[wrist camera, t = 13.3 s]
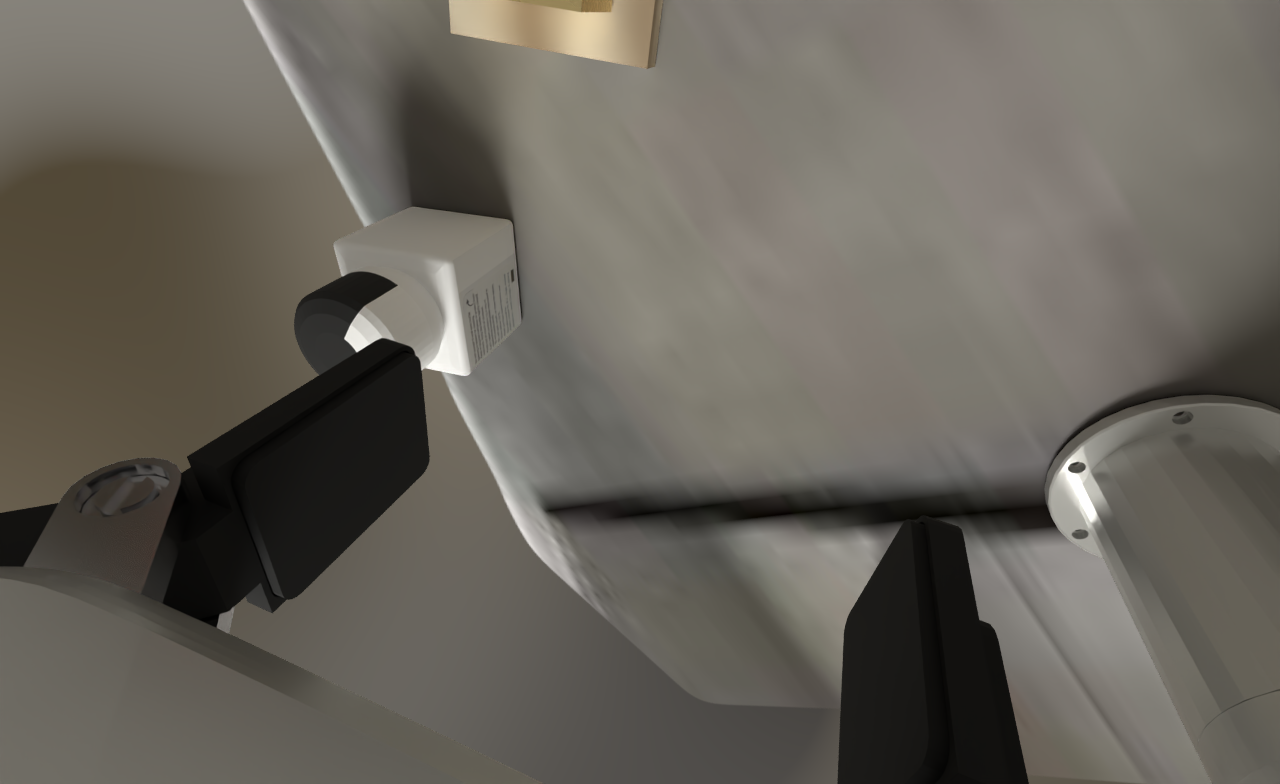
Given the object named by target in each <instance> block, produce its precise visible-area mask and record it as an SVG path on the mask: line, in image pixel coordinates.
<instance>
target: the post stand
mask: <svg viewBox="0 0 1280 784" xmlns="http://www.w3.org/2000/svg"><path fill="white" fill-rule="evenodd" d="M662 5H663V0H612V11H611V12H577V11H571V10H565V9H559V8H553V7H547V6H541V5H535V4H529V3H523V2H517V1H511V0H449V10H450V27H451V33H452V34H458V35H464V36H469V37H475V38H480V39H486V40H491V41H497V42H502V43H508V44H513V45H519V46H524V47H530V48H536V49H541V50H547V51H552V52H558V53H563V54H569V55H574V56H580V57H585V58H591V59H596V60H602V61H608V62H613V63H619V64H624V65H630V66H635V67H641V68H646V69H648V68H651V67H655V62H656V53H657V45H658V37H659V29H660V21H661V13H662Z"/></svg>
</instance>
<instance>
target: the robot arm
mask: <svg viewBox="0 0 1280 784" xmlns="http://www.w3.org/2000/svg"><path fill="white" fill-rule="evenodd" d="M429 457H430V456H429V446H428V436H427V424H426V414H425V403H424V392H423V382H422V371H421V362H420V359H419V358H418V357H417V356H416V355H415V351H414V350H413V348H412V347H410V346H408V345H405V344H402V343H399V342H396V341H393V340H390V339H387V338H381V339H378V340H376V341H374V342H373V343H371V344H370V345H368V346H366V347H365V348H363V349H361V350H360V351H358V352H357V353H355V354H353V355H352V356H350V357H348V358H347V359H345V360H343V361H342V362H340V363H339V364H337V365H335V366H334V367H332V368H330V369H329V370H327V371H326V372H324V373H322V374H321V375H319V376H317V377H316V378H314V379H313V380H311V381H309V382H308V383H306V384H304V385H303V386H301V387H300V388H298V389H296V390H295V391H293V392H291V393H290V394H289V395H287V396H285V397H283V398H282V399H280V400H278V401H277V402H275V403H274V404H272V405H270V406H269V407H267V408H265V409H264V410H262V411H261V412H259V413H257V414H256V415H254V416H252V417H251V418H249V419H248V420H246V421H244V422H243V423H241V424H239V425H238V426H236V427H234V428H233V429H231V430H230V431H228V432H226V433H225V434H223V435H221V436H220V437H218V438H217V439H215V440H213V441H212V442H210V443H208V444H207V445H205V446H204V447H202V448H200V449H199V450H197V451H195V452H194V453H192V454H191V455H189V456H187V458H188V460H189V463H190V465H191V468H189V469H187V470H186V471H184V472H183V473H181V472H180V470H179V468H178V467H177V465H175V464H173V463H172V462H170V461H168V460H164V459H158V458H136V459H131V460H126V461H120V462H116V463H114V464H111V465H108V466H105V467H102V468H100V469H98V470H96V471H94V472H92V473H90V474H88V475H86V476H84V477H83V478H81V479H80V480H79V481H77V482H76V483H75V484H73V485H72V486H71V487H70V488H69V489H68V491H67V492H66V493H65V494H64V495H63V497H62V498H61V500H60V502H59V503H57V504H50V505H45V506H39V507H33V508H27V509H22V510H16V511H10V512H4V513H0V784H543V783H541V782H539V781H537V780H535V779H533V778H531V777H529V776H527V775H525V774H523V773H520V772H518V771H516V770H514V769H512V768H510V767H508V766H506V765H504V764H502V763H500V762H498V761H495V760H493V759H491V758H489V757H487V756H485V755H483V754H481V753H479V752H477V751H474V750H473V749H470V748H468V747H466V746H464V745H462V744H460V743H458V742H456V741H454V740H452V739H450V738H448V737H446V736H443V735H441V734H439V733H437V732H435V731H433V730H431V729H429V728H427V727H425V726H423V725H420V724H418V723H416V722H414V721H412V720H410V719H408V718H406V717H404V716H401V715H399V714H397V713H395V712H393V711H391V710H389V709H387V708H385V707H382V706H380V705H378V704H376V703H374V702H372V701H370V700H368V699H366V698H364V697H362V696H359V695H357V694H355V693H353V692H351V691H349V690H347V689H345V688H343V687H341V686H339V685H336V684H334V683H332V682H330V681H328V680H326V679H324V678H322V677H320V676H317V675H315V674H313V673H311V672H309V671H307V670H304V669H303V668H301V667H298V666H296V665H294V664H292V663H290V662H288V661H286V660H284V659H281V658H279V657H277V656H275V655H273V654H270V653H269V652H266V651H264V650H262V649H260V648H258V647H256V646H254V645H252V644H250V643H247V642H245V641H243V640H241V639H239V638H237V637H235V636H233V635H230V634H229V631H230V626H231V621H232V616H233V612H234V607H235V605H236V604H237V603H239V602H240V601H241V600H242V599H243V598H244V597H245V596H246V599H247V601H248V602H249V603H252V604H253V605H256V606H258V607H260V608H262V609H265V610H266V611H269V612H271V613H273V612H274V611H275V610H276V609H277V608H278V607H279V606H280V605H281V604H282V603H284V602H285V601H286V600H287V599H288V600H289V599H293V598H295V597H297V596H298V595H299V594H301V593H302V592H303V591H304V590H305V589H306V588H307V587H308V586H309V585H310V584H311V583H312V582H313V581H314V580H315V579H316V578H317V577H318V576H319V575H320V574H321V573H322V572H323V571H324V570H325V569H326V568H327V567H329V565H331V563H333V562H334V561H335V560H336V559H337V558H338V557H339V556H340V555H341V554H342V553H343V552H344V551H345V550H346V549H347V548H348V547H349V546H350V545H351V544H352V543H353V542H354V541H355V540H356V539H357V538H358V537H359V536H360V535H361V534H362V533H363V532H364V531H365V530H366V529H367V528H368V527H369V526H370V525H371V524H372V523H374V522H375V520H377V519H378V517H380V516H381V515H382V514H383V513H384V512H385V511H386V510H387V509H388V508H389V507H390V506H391V505H392V504H393V503H394V502H395V501H396V500H397V499H398V498H399V497H400V496H401V495H402V494H403V493H404V492H405V491H406V490H407V489H408V488H409V487H410V486H411V485H412V484H413V483H414V482H415V481H416V480H417V479H418V478H419V477H421V476H422V474H423V473H424V472H425V470H426V469H427V466H428V464H429ZM1044 488H1045V499H1046V504H1047V506H1048V509H1049V512H1050V514H1051V517H1052V519H1053V520H1054V522H1055V524H1056V526H1057V527H1058V529H1059V530H1060V532H1061V533H1062V534H1063V535H1064V536H1065V537H1066V538H1067V539H1068V540H1069V541H1071V542H1072V543H1074V544H1075V545H1077V546H1078V547H1080V548H1081V549H1083V550H1084V551H1086V552H1088V553H1090V554H1093V555H1095V556H1097V557H1099V558H1102V559H1104V561H1105V563H1106V565H1107V567H1108V569H1109V571H1110V573H1111V575H1112V577H1113V579H1114V582H1115V584H1116V586H1117V588H1118V590H1119V592H1120V594H1121V596H1122V598H1123V600H1124V602H1125V604H1126V606H1127V609H1128V611H1129V613H1130V615H1131V617H1132V619H1133V621H1134V623H1135V625H1136V627H1137V629H1138V631H1139V633H1140V635H1141V638H1142V640H1143V642H1144V644H1145V646H1146V648H1147V650H1148V652H1149V654H1150V656H1151V658H1152V660H1153V662H1154V665H1155V667H1156V669H1157V671H1158V673H1159V675H1160V677H1161V679H1162V681H1163V683H1164V685H1165V687H1166V689H1167V692H1168V694H1169V696H1170V698H1171V700H1172V702H1173V704H1174V706H1175V708H1176V710H1177V712H1178V714H1179V716H1180V719H1181V721H1182V723H1183V725H1184V727H1185V729H1186V731H1187V733H1188V735H1189V737H1190V739H1191V741H1192V743H1193V746H1194V748H1195V750H1196V752H1197V754H1198V756H1199V758H1200V760H1201V762H1202V765H1203V767H1204V769H1205V771H1206V773H1207V775H1208V777H1209V779H1210V781H1211V783H1212V784H1280V410H1279V409H1277V408H1275V407H1272V406H1270V405H1268V404H1265V403H1262V402H1257V401H1253V400H1249V399H1245V398H1240V397H1232V396H1220V395H1191V396H1178V397H1172V398H1166V399H1160V400H1154V401H1150V402H1147V403H1143V404H1140V405H1136V406H1133V407H1129V408H1126V409H1124V410H1122V411H1119V412H1117V413H1115V414H1112V415H1110V416H1108V417H1105V418H1103V419H1101V420H1100V421H1098V422H1096V423H1095V424H1093V425H1091V426H1090V427H1088V428H1086V429H1085V430H1083V431H1082V432H1081V433H1080V434H1078V435H1077V436H1076V437H1075V438H1073V439H1072V440H1071V441H1070V442H1069V443H1067V445H1066V446H1065V447H1064V448H1063V449H1062V451H1061V452H1060V453H1059V454H1058V455H1057V457H1056V458H1055V459H1054V461H1053V463H1052V465H1051V467H1050V469H1049V471H1048V473H1047V478H1046V483H1045V487H1044ZM839 739H840V740H839V761H838V784H1029V782H1028V778H1027V773H1026V768H1025V764H1024V759H1023V754H1022V750H1021V745H1020V740H1019V735H1018V731H1017V726H1016V721H1015V717H1014V712H1013V707H1012V703H1011V698H1010V693H1009V688H1008V684H1007V679H1006V674H1005V670H1004V665H1003V660H1002V656H1001V651H1000V646H999V641H998V638H997V635H996V632H995V630H994V629H993V627H992V626H991V625H990V624H988V623H986V622H983V621H980V620H979V617H978V611H977V606H976V601H975V595H974V590H973V585H972V579H971V574H970V569H969V563H968V558H967V553H966V547H965V542H964V537H963V533H962V530H961V529H960V528H959V527H958V526H955V525H952V524H949V523H946V522H943V521H940V520H937V519H934V518H931V517H927V516H921V517H920V518H918V520H917V521H916V522H915V521H912V520H906V521H905V522H904V523H903V524H902V526H901V528H900V529H899V531H898V533H897V534H896V536H895V538H894V539H893V541H892V543H891V545H890V546H889V548H888V550H887V551H886V553H885V555H884V556H883V558H882V560H881V561H880V563H879V565H878V566H877V568H876V570H875V571H874V573H873V575H872V576H871V578H870V580H869V581H868V583H867V585H866V586H865V588H864V590H863V592H862V593H861V595H860V597H859V598H858V600H857V602H856V603H855V605H854V607H853V608H852V610H851V612H850V614H849V616H848V618H847V621H846V625H845V630H844V645H843V669H842V692H841V715H840V738H839Z"/></svg>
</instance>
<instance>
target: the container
mask: <svg viewBox="0 0 1280 784" xmlns="http://www.w3.org/2000/svg"><path fill="white" fill-rule="evenodd" d="M334 249H335V253H336V256H337V260H338V264H339V268H340V271H341V275H342V277H341V278H339V279H337V280H335V281H333V282H331V283H329V284H327V285H326V286H324V287H322V288H320V289H318V290H316V291H314V292H312V293H310V294H309V295H307V296H306V297H304V298H303V299H302V300H301V302H300V303H299V304H298V307H297V309H296V313H295V320H294V329H295V335H296V339H297V342H298V345H299V347H300V349H301V351H302V353H303V355H304V357H305V358H306V360H307V361H308V363H309V364H310V365H311V367H312V368H313V369H314V370H315V371H316V372H317V373H318V374H319V375H321V374H322V373H324V372H326V371H327V370H329V369H330V368H332V367H334V366H335V365H337V364H339V363H340V362H342V361H343V360H345V359H347V358H348V357H350V356H352V355H353V354H355V353H357V352H358V351H360V350H361V349H363V348H365V347H366V346H368V345H370V344H371V343H373V342H374V341H376V340H378V339H381V338H387V339H390V340H393V341H396V342H399V343H402V344H405V345H408V346H410V347H412V348H413V350H414V351H415V355H416V356H417V357H418V358H419V359H420V362H421V371H422V370H423V369H424V368H428V369H433V370H437V371H442V372H447V373H452V374H457V375H462V376H467V375H469V374H470V373H471V372H472V371H473V370H474V369H475V368H476V367H477V366H478V365H479V364H480V363H481V362H482V361H483V360H484V359H485V358H486V357H488V356H489V355H490V354H491V353H492V352H493V351H494V350H495V349H496V348H497V347H498V346H499V345H500V344H501V343H502V342H503V341H504V340H505V339H506V338H507V337H508V336H509V335H510V334H511V333H512V332H513V331H514V330H515V329H516V328H517V327H518V326H519V325H520V324H521V321H522V320H521V309H520V298H519V287H518V276H517V265H516V254H515V243H514V232H513V224H512V222H511V221H510V220H508V219H501V218H493V217H486V216H479V215H471V214H464V213H457V212H449V211H442V210H435V209H427V208H420V207H409V208H407V209H405V210H403V211H400V212H398V213H396V214H394V215H391V216H389V217H387V218H385V219H383V220H380V221H378V222H376V223H374V224H371V225H369V226H367V227H365V228H363V229H360V230H358V231H356V232H354V233H351V234H349V235H347V236H345V237H343V238H340V239H338V240H336V242H335V243H334Z"/></svg>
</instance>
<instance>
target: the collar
mask: <svg viewBox="0 0 1280 784" xmlns="http://www.w3.org/2000/svg"><path fill="white" fill-rule="evenodd" d="M511 1H517V2H523V3H529V4H535V5H541V6H547V7H553V8H559V9H565V10H571V11H577V12H611V11H612V0H511Z"/></svg>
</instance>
